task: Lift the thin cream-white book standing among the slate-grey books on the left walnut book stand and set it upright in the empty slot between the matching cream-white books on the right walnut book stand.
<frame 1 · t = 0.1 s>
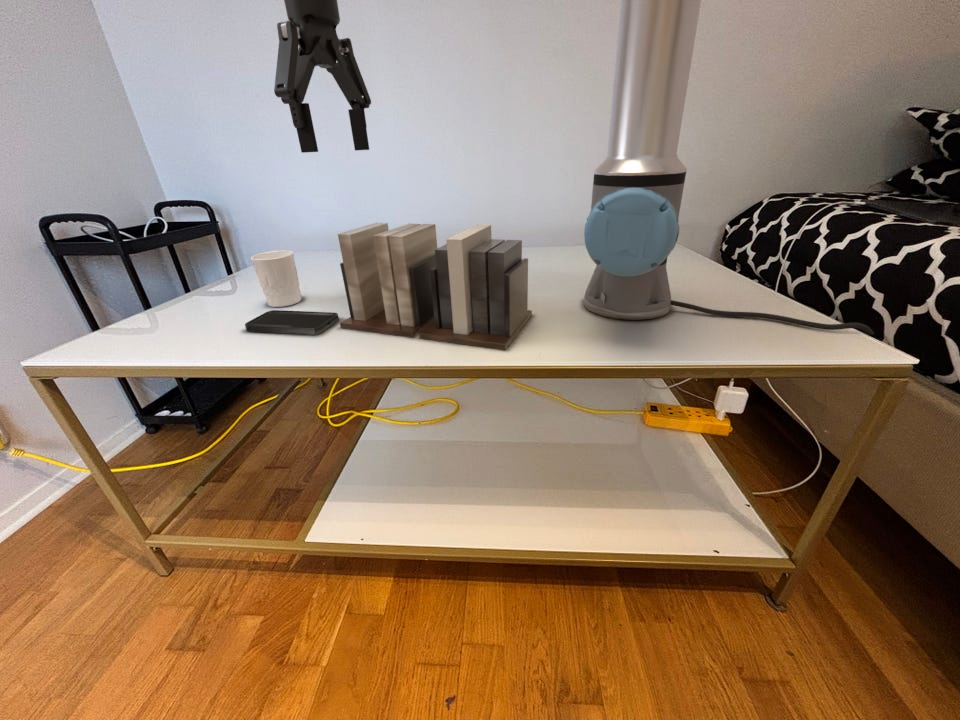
hand: (338, 151, 70), 28 cm above the table, tool pointing down, fingers open, 13 cm apart
grey stand: (478, 326, 71), on the table
phone: (293, 325, 75), on the table
white stand: (399, 317, 77), on the table
white book: (474, 320, 71), point 1 cm above the table, touching grey stand
white cup: (285, 302, 88), on the table
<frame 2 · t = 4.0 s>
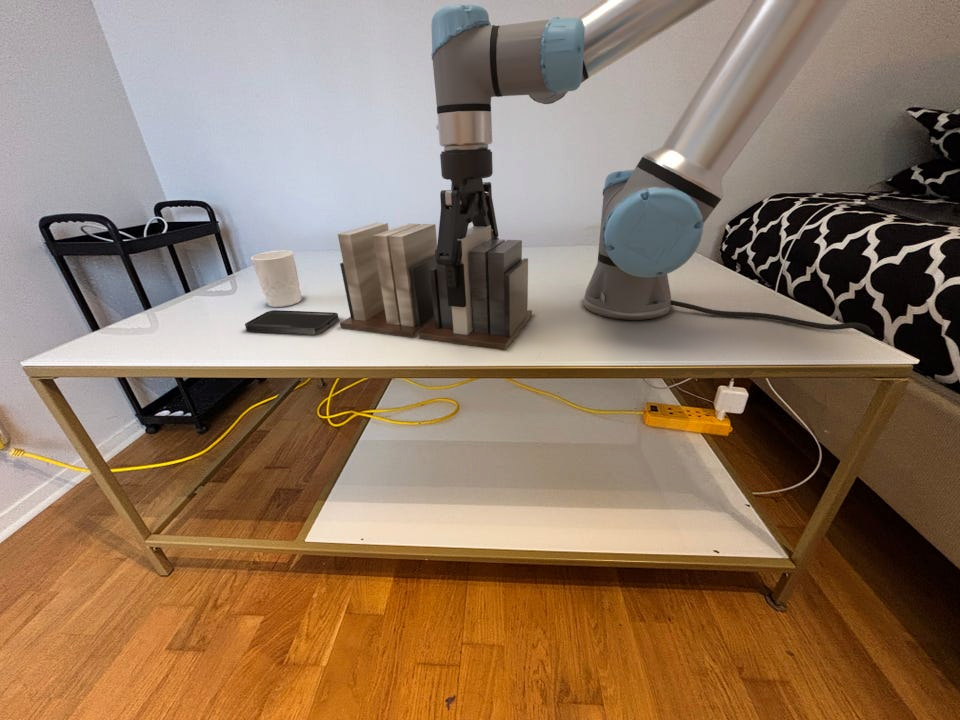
hand: (473, 293, 69), 6 cm above the table, tool pointing down, fingers closed on white book, 12 cm apart
white book: (474, 320, 71), point 1 cm above the table, touching grey stand, gripper
everything else where it was.
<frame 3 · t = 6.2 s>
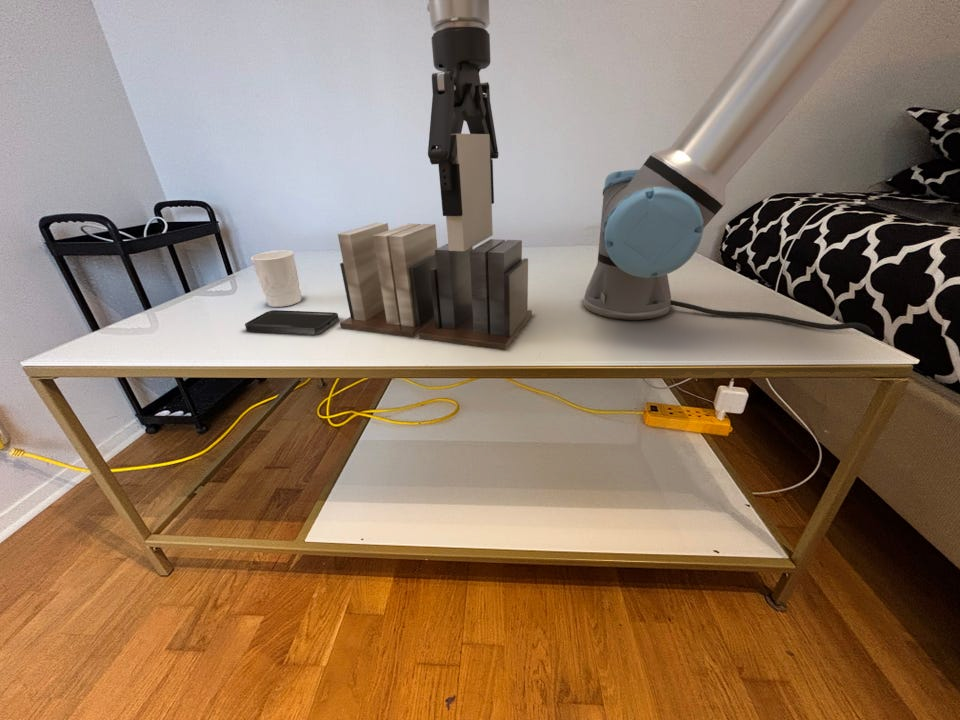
hand: (470, 209, 63), 19 cm above the table, tool pointing down, fingers closed on white book, 12 cm apart
white book: (472, 242, 65), point 14 cm above the table, touching gripper
everything else where it was.
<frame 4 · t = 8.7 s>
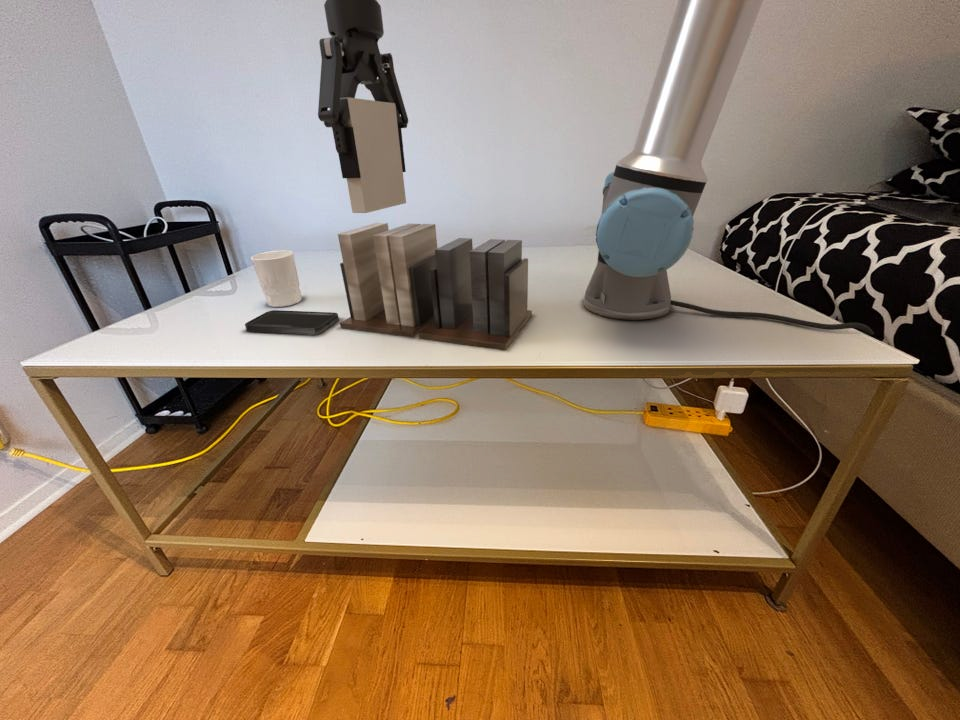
hand: (376, 175, 66), 24 cm above the table, tool pointing down, fingers closed on white book, 12 cm apart
white book: (381, 207, 68), point 19 cm above the table, touching gripper
everything else where it was.
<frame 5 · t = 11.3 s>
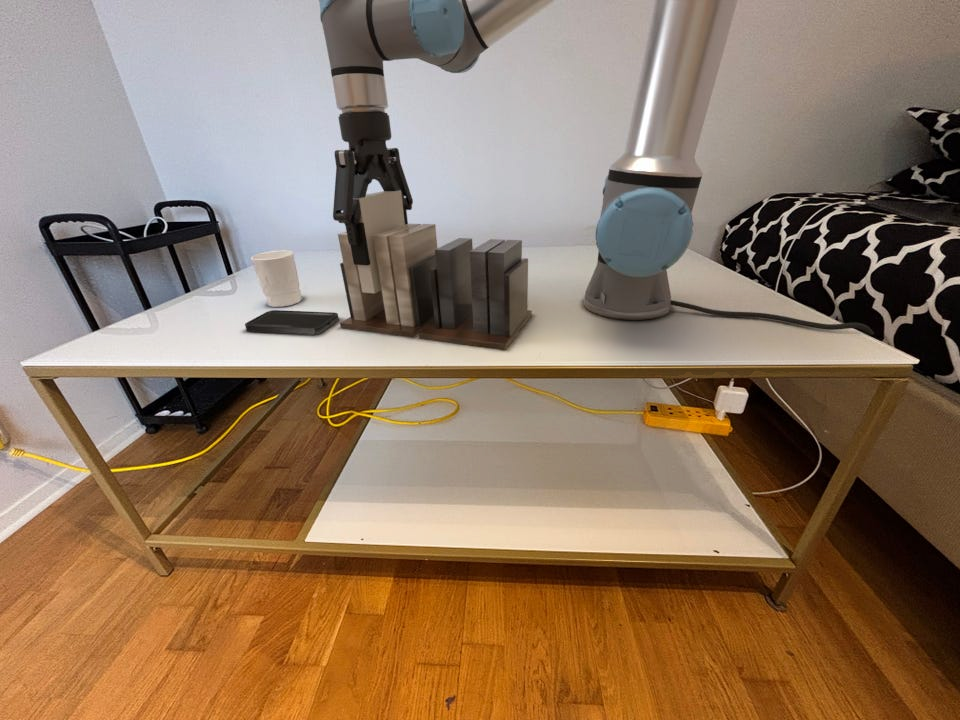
hand: (384, 255, 72), 11 cm above the table, tool pointing down, fingers closed on white book, 12 cm apart
white book: (387, 282, 74), point 7 cm above the table, touching gripper
everything else where it was.
when the fingers open (6 cm above the table, at t = 13.3 s): white book stays where it is, resting on white stand.
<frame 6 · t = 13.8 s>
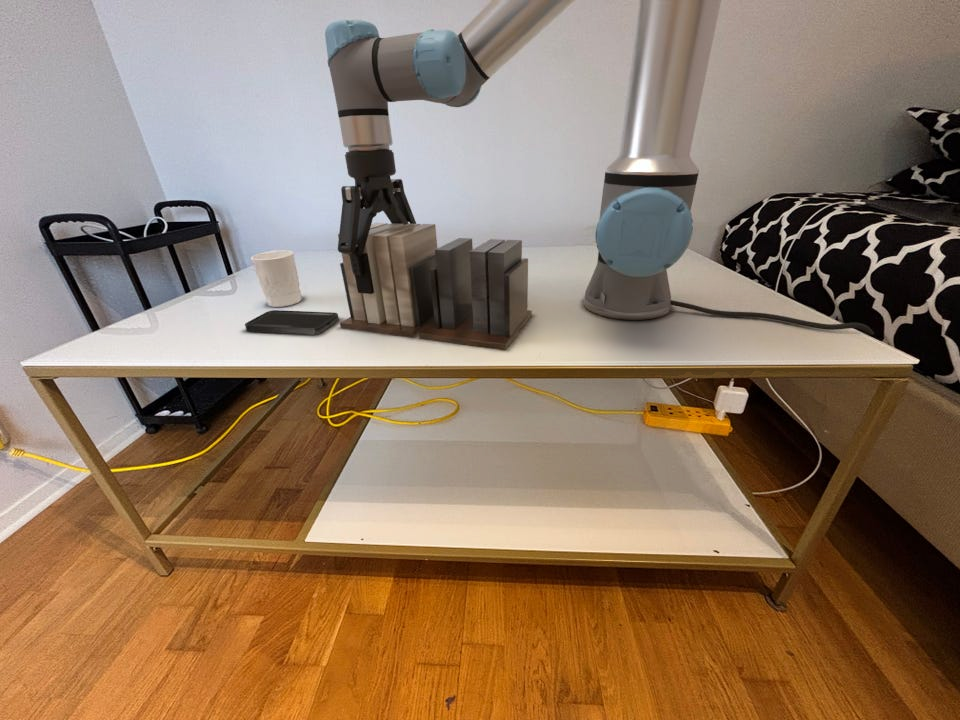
hand: (388, 281, 74), 7 cm above the table, tool pointing down, fingers open, 13 cm apart
white book: (392, 311, 77), point 1 cm above the table, touching white stand
everything else where it was.
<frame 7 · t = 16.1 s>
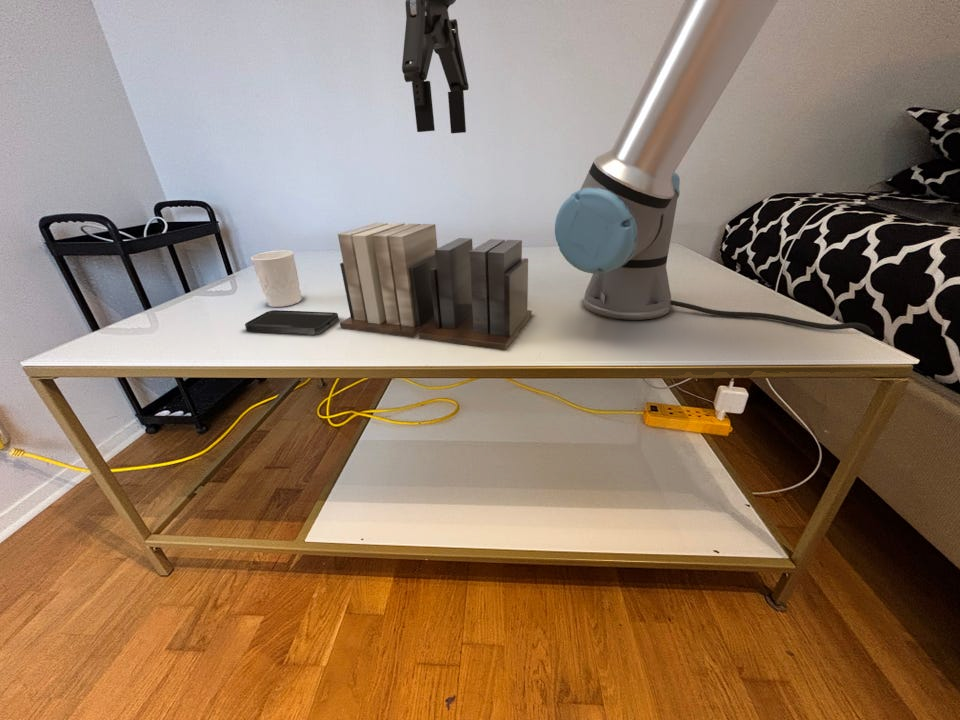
hand: (443, 132, 70), 30 cm above the table, tool pointing down, fingers open, 13 cm apart
nothing on the table moved.
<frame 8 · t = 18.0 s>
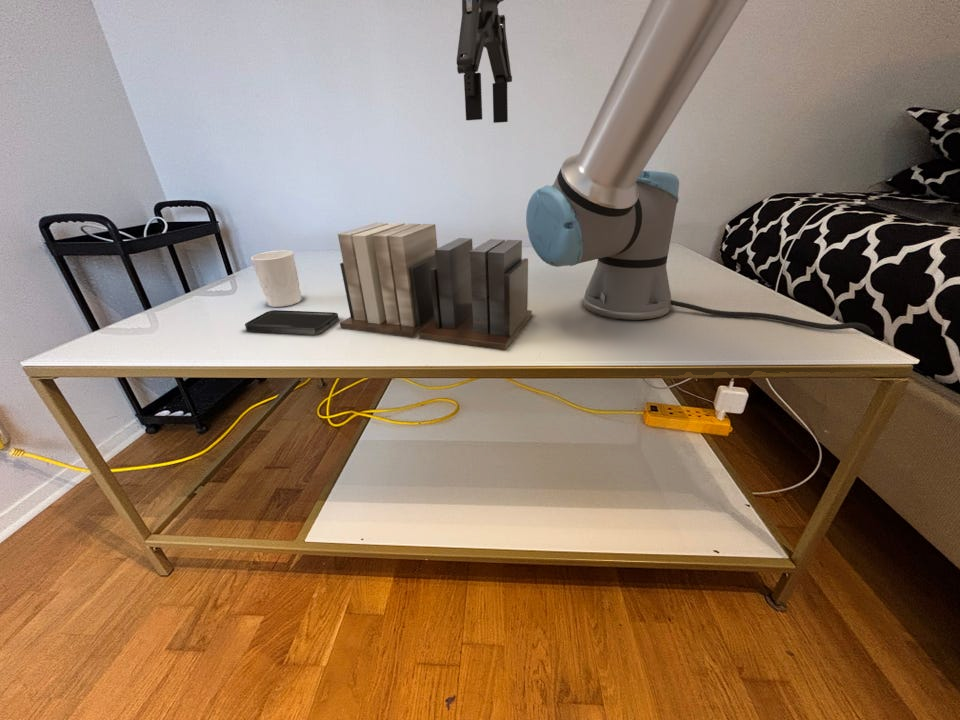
hand: (488, 121, 76), 32 cm above the table, tool pointing down, fingers open, 13 cm apart
nothing on the table moved.
at the end: white book 0.1 cm from the target spot on the white stand, point 1.0 cm above the white stand's base; white book tilted 0°; the gripper is holding nothing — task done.
